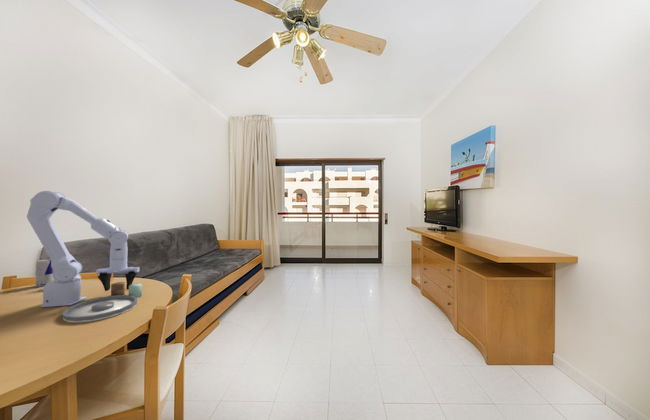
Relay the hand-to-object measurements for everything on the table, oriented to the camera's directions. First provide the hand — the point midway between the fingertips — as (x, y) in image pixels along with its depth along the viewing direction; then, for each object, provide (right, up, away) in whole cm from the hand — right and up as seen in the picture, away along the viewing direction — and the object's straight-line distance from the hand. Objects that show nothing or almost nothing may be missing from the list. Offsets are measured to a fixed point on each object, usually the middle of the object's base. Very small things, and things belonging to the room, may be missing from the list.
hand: (118, 289), depth 99 cm
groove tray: (+7, -3, -15) cm, 16 cm away
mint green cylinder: (+9, -3, -2) cm, 9 cm away
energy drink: (-44, -2, +9) cm, 45 cm away
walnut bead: (0, -2, 0) cm, 2 cm away
